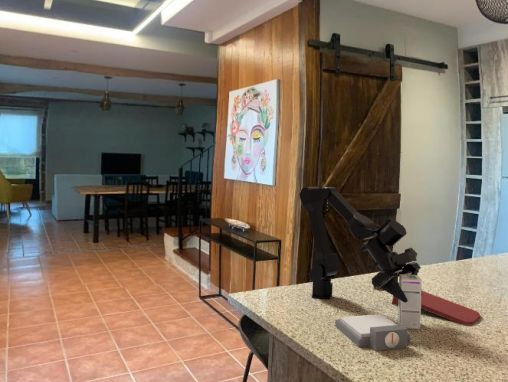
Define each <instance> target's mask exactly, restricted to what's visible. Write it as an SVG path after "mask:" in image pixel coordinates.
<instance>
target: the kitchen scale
mask: <svg viewBox="0 0 508 382" xmlns="http://www.w3.org/2000/svg"><path fill="white" fill-rule="evenodd" d="M334 321H335V325H334V327H335V328H336V329H337V330H338V331H340V332H341V333H342V334H343V335H344V336H346V337H347V338H348V339H349V340H350V341H351V342H353V344H354V345H356V346H357V347H358V348H363V347H370V348H371V349H372V350H373V351H374V352H380V351H389V350H398V349H399V350H401V349H407V345H408V344H407V343H410V342H411V334H410V333H408V328H405V327H404V326H402V325H399V324H397V323H395V322H393V321H392V320H390V319H389V318H387V317H386V316H384V315H383V314H382V313H380V314H379V313H378V314H367V315H355V316H341V317H340V318H339V319H335V320H334Z"/></svg>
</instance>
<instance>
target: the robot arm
mask: <svg viewBox="0 0 508 382" xmlns="http://www.w3.org/2000/svg"><path fill="white" fill-rule="evenodd" d="M338 190H339V189H338V188H336V187H335V186H325V187H321V188H320V187H319V186H304V187H303V188H302V189H300V192H299V198H300V199H299V200H300V202H301V205H302V207H303V208H304V209H305V211H306V212H307V214H308V218H309V223H310V227H311V232H312V238H313V242H314V248H315V255H314V259H313V265H314V266H313V268H312V269H310V271H309V272H308V273H307V275H308V279H309V280H310V281H312V291H311V292H312V293H311V298H316V299H324V300H330V299H331V297H332V296H333V287H334V285H333V282H332V280H333V279H335V278H336V276H337V273H338V272H339V270H340V266H341V264H340V261H339V255H338V253H333V251H332V250H331V248H330V243H329V238H328V233H327V228H326V224H325V217H324V215H323V208H324V204H325V201H327V202H328V203H329V204H330V205H331V206H332V207H333V209H334V210H335V211H336V212H337V213H338V214H339V215H340V216H341V217H342V218H343V219H344V221H345V222H346V224H347V227H348V229H349V231H350V233H351V235H352V236H353V238H355V239H356V240H359V241H362V240H367V241H365V242H362V243H361V247H360V252H367V251H368V252H369V254H370V255H371V258H373V260H374V261H375V262H374V263H373V265H374V266H375V267H379V268H380V269H381V270H380V271H379V272H377V273H376V274H375V275H374V276H373V277H372V278H371V284H372V287H373V288H374V287H375V288H378V287H380V286H381V284H382V286H381V287H380V289H381V290H383V291H385V292H386V293H387V294H390V295H391V296H392V297H393V296H395V297H396V298H398V299H400V300H401V301H403V302H404V303H406V302H407V301H408V300H407V298H406V296H405V294H404V292H403V291H402V289H401V287H400V286H399V284H398V282H399V275H400V274H410V275H418V274H419V272H420V269H421V268H422V267H421V266H420V265H419V263H418V262H416V261H417V256H418V253H417V252H416V251H415V249H413V247H408V248H406V249H404V252H402V253H398V252H396V251H392V250H391V249H390V247H393V246H395V245H396V244H397V243H398V242H400V241H401V240H402V238H404V237H405V236H406V235H407V234H408V232H407V228H406V227H405V225H402V224H401V223H400V222H398V221H396V220H395V219H394V218H392V217H390V218H388V219H386V221H384V223H383V224H382V225H378V224H376V223H375V222H374V221H373V220H372V219H371V218H369V217H368V216H366V215H364V214H361V213H359V212H358V211H357V210H356V209H355V207H353V205H352V204H351V203H350V202H349V201H348V200H346V198H345V197H344V196H343V195H342V194H341V193H340V192H339V191H338ZM389 246H390V247H389ZM418 276H419V275H418ZM421 297H422V292H421Z"/></svg>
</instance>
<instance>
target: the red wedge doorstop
mask: <svg viewBox="0 0 508 382" xmlns="http://www.w3.org/2000/svg"><path fill="white" fill-rule="evenodd" d="M421 292H422V297H421V310H425V311H427V312H430V313H432V314H434V315H437V316H439V317H442V318H444V319H447V320H449V321H451V322H454V323H456V324H459V325H461V326H462V325H464V326H472V325H474V323H476V322H477V321H478V320H479V319H480V318H481V314H480V312H479V311H477V310H474V309H472V308H469V307H466V306H465V305H461V304H459V303H456V302H453V301H450V300H448V299H446V298H442V297H440V296H437V295H434V294H431V293H429V292H426V291H423V289H422V290H421ZM391 305H395V306H398V298H396V297H395V296H393V295H392V301H391Z"/></svg>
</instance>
